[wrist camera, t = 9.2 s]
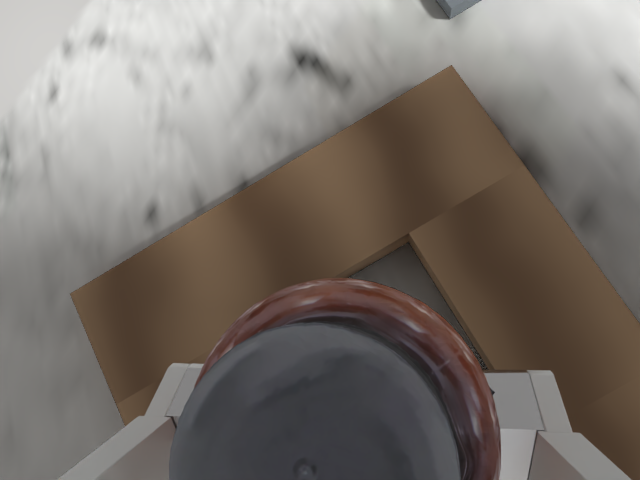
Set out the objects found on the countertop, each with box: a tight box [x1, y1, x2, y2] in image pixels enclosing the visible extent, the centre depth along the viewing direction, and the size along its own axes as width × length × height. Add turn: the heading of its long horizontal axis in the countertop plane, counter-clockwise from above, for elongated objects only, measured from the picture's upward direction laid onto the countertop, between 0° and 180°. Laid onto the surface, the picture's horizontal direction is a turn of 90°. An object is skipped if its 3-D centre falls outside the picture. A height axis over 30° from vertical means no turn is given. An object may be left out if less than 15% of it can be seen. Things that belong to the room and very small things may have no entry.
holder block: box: [70, 65, 640, 480], centre depth 21 cm, size 20×20×2 cm
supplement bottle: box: [169, 278, 501, 480], centre depth 12 cm, size 6×6×11 cm
